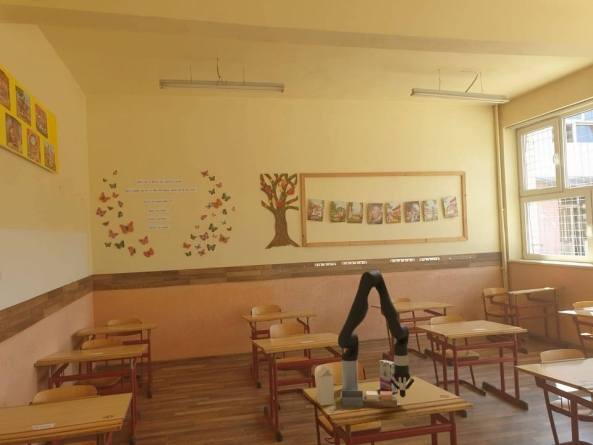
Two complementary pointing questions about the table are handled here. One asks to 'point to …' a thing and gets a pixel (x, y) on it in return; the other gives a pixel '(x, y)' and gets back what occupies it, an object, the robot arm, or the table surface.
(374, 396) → the tile cream
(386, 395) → the tile terracotta
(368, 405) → the grey brown tray
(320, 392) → the milk carton
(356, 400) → the tray
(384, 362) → the candy bar box
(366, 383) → the table surface
